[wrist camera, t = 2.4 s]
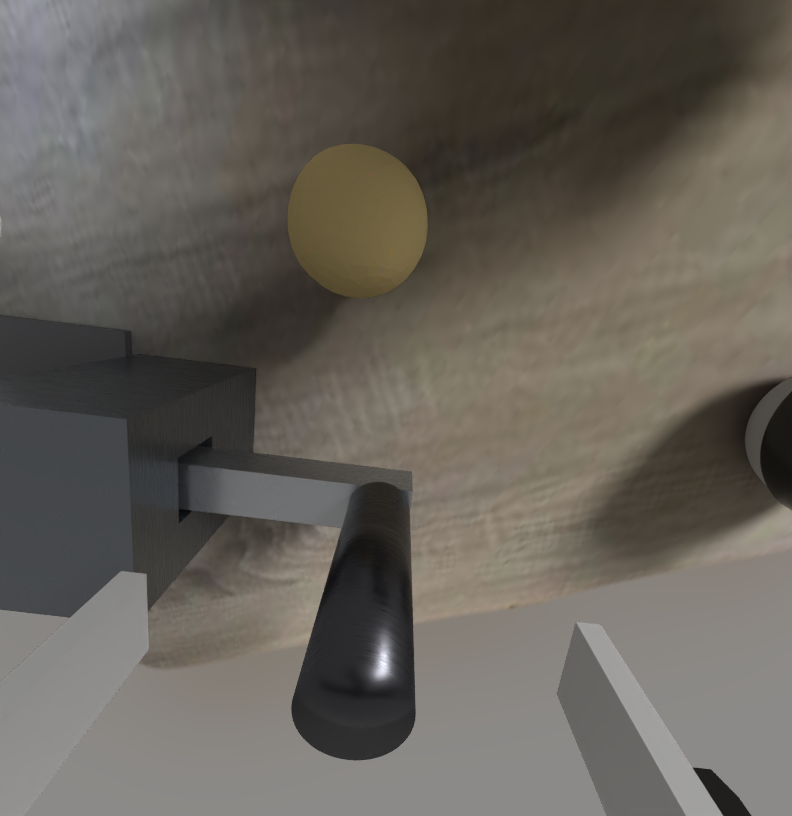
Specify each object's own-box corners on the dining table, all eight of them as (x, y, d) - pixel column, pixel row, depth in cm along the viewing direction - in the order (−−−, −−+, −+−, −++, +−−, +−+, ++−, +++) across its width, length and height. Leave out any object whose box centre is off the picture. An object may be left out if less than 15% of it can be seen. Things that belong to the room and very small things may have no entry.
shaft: (-132, 401, 21) (-851, 524, 9) (412, 466, 21) (423, 670, 9) (-120, 454, 22) (-773, 634, 10) (405, 516, 22) (407, 766, 10)
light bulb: (310, 286, 26) (254, 271, 16) (333, 180, 24) (285, 93, 14) (405, 312, 26) (407, 314, 16) (433, 209, 24) (453, 143, 15)
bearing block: (138, 354, 27) (-95, 392, 14) (255, 368, 27) (126, 419, 14) (143, 476, 29) (-56, 603, 17) (251, 488, 29) (136, 625, 17)
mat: (-43, 309, 26) (-53, 309, 26) (130, 330, 27) (124, 331, 26) (-19, 475, 29) (-28, 478, 29) (137, 493, 29) (132, 497, 29)
